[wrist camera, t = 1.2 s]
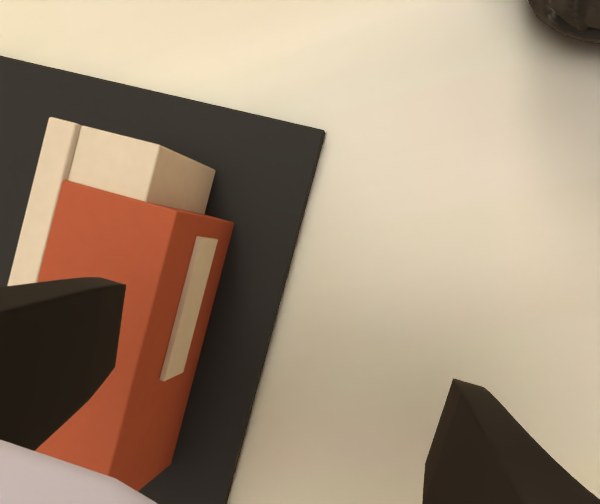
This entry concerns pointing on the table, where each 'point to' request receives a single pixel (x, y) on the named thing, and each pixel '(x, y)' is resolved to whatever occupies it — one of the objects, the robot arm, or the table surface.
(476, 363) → the table surface
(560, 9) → the loafer
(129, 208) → the book in orange sleeve
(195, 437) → the mat
